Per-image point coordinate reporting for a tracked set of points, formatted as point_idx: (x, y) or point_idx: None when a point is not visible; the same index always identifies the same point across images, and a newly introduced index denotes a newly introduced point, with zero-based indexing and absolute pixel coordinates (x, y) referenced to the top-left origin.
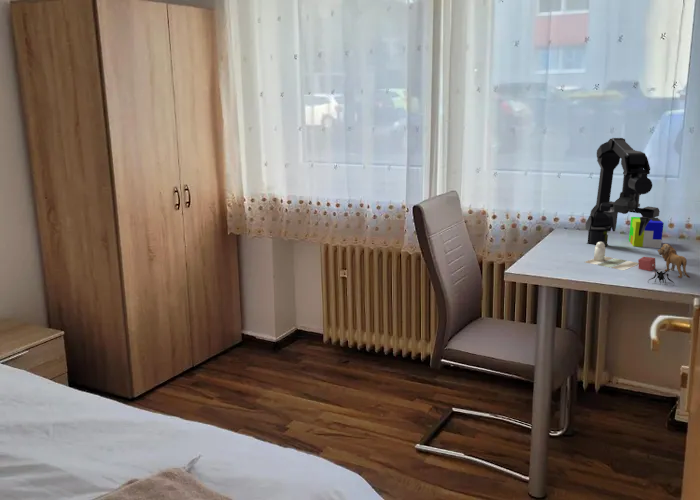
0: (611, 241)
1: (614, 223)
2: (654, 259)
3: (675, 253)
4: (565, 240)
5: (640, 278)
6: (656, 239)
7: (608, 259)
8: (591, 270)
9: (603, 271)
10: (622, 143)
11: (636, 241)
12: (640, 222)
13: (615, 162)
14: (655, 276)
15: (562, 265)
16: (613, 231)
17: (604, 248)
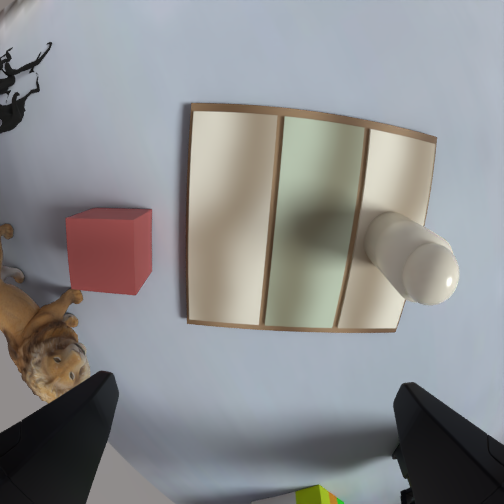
0: (384, 480)
1: (435, 455)
2: (72, 275)
3: (7, 337)
4: (497, 410)
5: (94, 81)
6: None
7: (352, 284)
8: (351, 44)
9: (294, 61)
10: None
11: (314, 499)
12: (7, 472)
13: None
14: (18, 71)
15: (478, 69)
16: (404, 384)
17: (397, 260)
